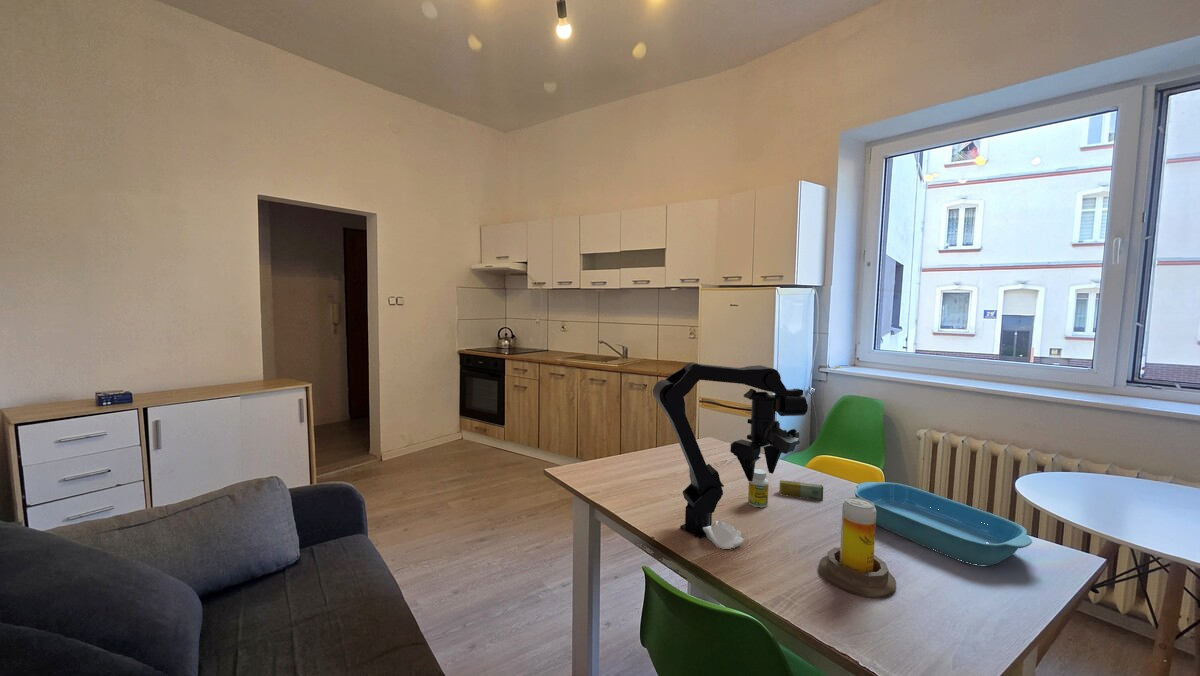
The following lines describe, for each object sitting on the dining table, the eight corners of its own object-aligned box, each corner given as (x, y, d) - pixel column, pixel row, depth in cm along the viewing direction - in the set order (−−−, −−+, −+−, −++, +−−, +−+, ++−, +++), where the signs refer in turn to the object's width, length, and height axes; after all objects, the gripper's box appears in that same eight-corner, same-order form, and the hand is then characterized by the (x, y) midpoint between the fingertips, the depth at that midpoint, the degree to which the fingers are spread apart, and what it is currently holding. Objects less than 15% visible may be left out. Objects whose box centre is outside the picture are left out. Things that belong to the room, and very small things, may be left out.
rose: (695, 523, 109) (710, 509, 117) (694, 541, 109) (709, 525, 117) (737, 536, 103) (750, 520, 111) (736, 555, 104) (749, 538, 111)
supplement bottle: (762, 499, 134) (763, 467, 133) (771, 507, 129) (772, 474, 128) (744, 500, 133) (745, 468, 133) (753, 508, 128) (754, 475, 127)
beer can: (874, 583, 92) (878, 510, 91) (840, 575, 94) (843, 504, 93) (870, 568, 97) (874, 499, 96) (838, 561, 100) (842, 494, 99)
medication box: (822, 498, 137) (822, 484, 137) (823, 501, 134) (824, 487, 134) (778, 492, 141) (779, 479, 141) (779, 495, 138) (779, 482, 138)
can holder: (878, 607, 86) (880, 589, 86) (806, 572, 97) (807, 556, 97) (907, 581, 95) (908, 564, 94) (837, 552, 106) (838, 537, 105)
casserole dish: (1047, 560, 105) (1050, 529, 104) (1002, 587, 94) (1005, 553, 93) (882, 499, 137) (884, 475, 136) (835, 514, 126) (836, 488, 126)
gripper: (771, 428, 103) (768, 496, 104) (813, 417, 115) (810, 478, 116) (730, 418, 112) (727, 481, 113) (772, 409, 124) (770, 466, 125)
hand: (760, 477), depth 116 cm, fingers open, 9 cm apart
